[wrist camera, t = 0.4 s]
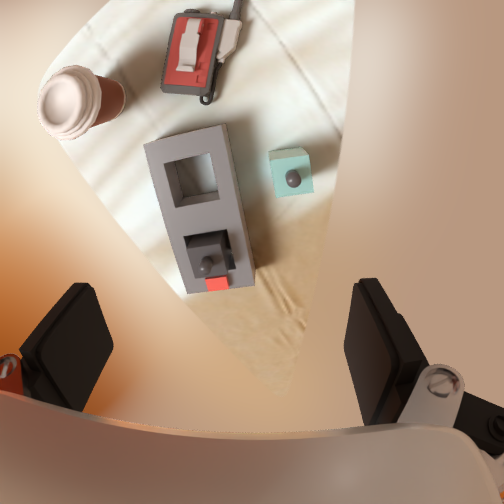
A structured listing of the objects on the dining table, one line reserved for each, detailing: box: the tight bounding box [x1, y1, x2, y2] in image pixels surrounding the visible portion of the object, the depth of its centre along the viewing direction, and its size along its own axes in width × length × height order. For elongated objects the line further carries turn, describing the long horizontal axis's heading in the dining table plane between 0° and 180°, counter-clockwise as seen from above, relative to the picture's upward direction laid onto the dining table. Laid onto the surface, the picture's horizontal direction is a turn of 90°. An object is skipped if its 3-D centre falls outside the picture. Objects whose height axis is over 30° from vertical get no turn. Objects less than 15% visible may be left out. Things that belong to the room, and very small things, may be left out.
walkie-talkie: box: [160, 0, 243, 105], centre depth 30 cm, size 9×4×20 cm
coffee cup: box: [37, 65, 126, 140], centre depth 30 cm, size 9×9×12 cm
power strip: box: [144, 124, 256, 294], centre depth 39 cm, size 22×10×9 cm, turn 10°
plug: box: [269, 147, 314, 198], centre depth 36 cm, size 4×4×9 cm
